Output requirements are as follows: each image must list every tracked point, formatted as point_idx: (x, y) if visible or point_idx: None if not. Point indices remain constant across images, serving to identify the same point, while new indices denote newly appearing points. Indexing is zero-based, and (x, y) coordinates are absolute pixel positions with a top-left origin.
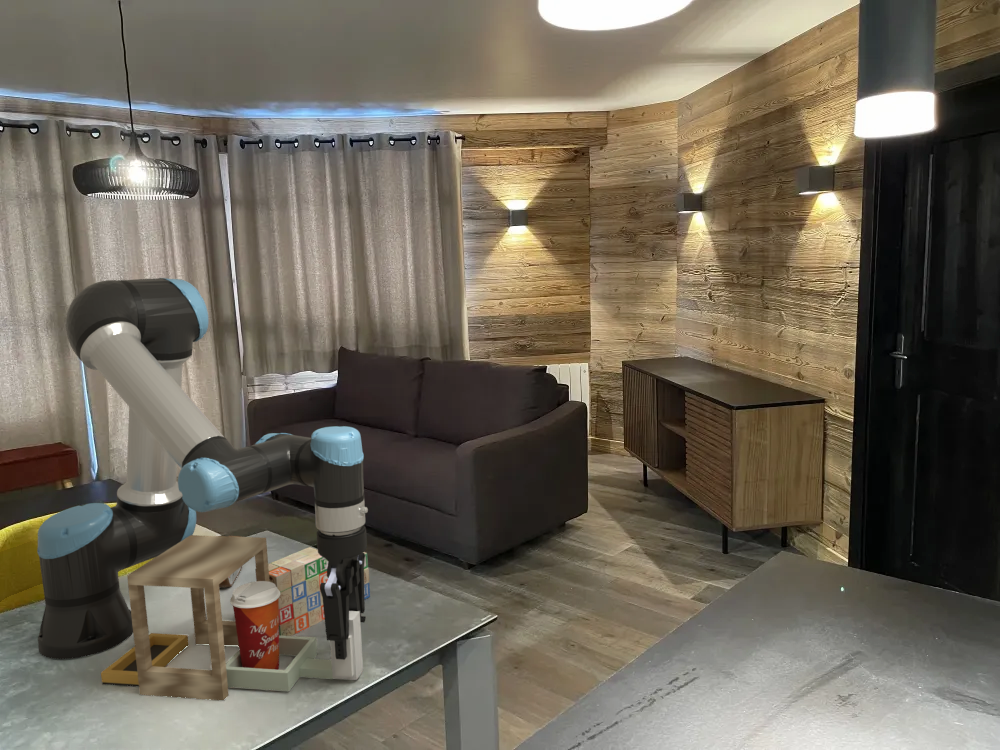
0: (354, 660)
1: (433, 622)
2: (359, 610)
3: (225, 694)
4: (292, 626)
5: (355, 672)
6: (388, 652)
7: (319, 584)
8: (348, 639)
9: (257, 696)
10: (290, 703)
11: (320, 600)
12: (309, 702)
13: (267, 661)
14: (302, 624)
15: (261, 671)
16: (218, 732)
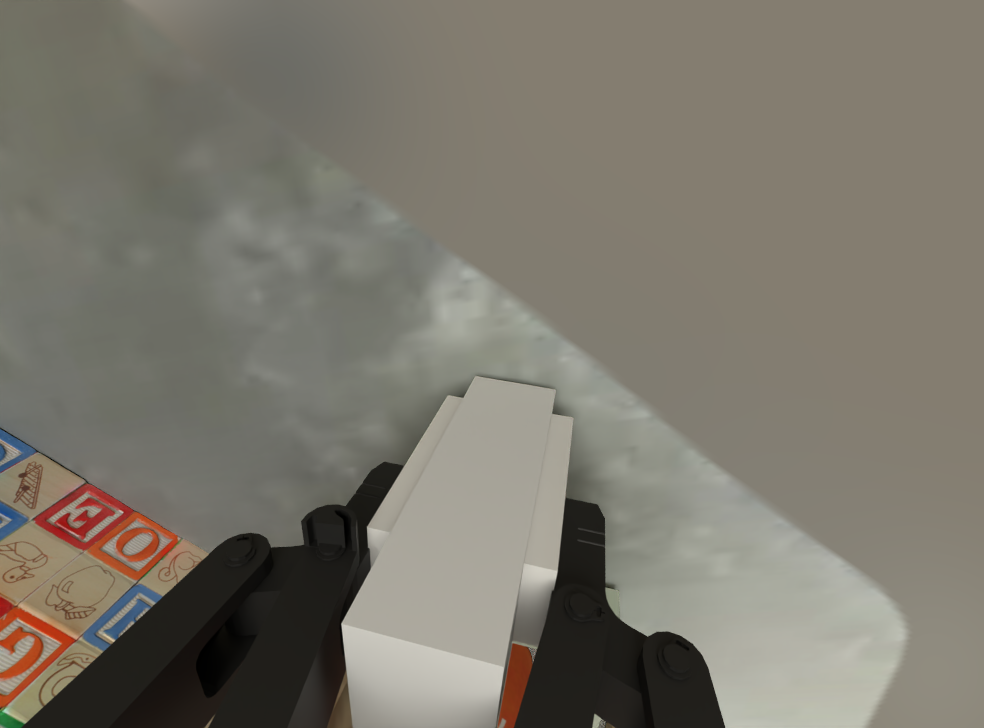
0: (545, 446)
1: (21, 122)
2: (297, 602)
3: None
4: None
5: (551, 410)
6: (312, 292)
7: (51, 661)
8: (556, 567)
9: None
10: (680, 573)
11: (118, 599)
12: (683, 522)
13: (511, 693)
14: None
15: (600, 718)
16: (816, 717)
